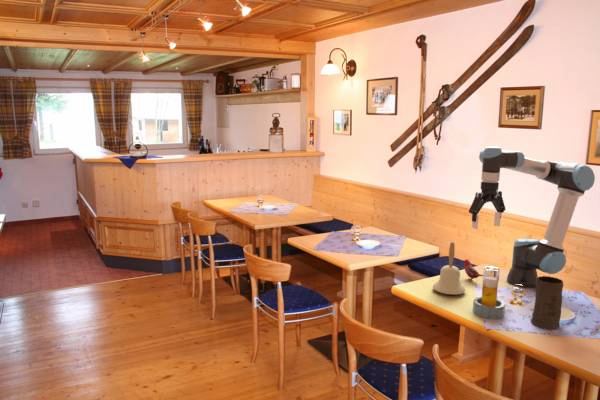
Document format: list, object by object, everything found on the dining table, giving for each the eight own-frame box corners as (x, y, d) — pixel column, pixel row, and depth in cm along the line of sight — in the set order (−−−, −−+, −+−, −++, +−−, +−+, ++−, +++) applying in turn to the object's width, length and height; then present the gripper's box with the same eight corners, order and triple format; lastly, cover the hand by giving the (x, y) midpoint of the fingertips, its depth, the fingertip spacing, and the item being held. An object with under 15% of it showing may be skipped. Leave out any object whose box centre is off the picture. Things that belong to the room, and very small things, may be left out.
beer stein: (566, 329, 201) (570, 282, 199) (542, 331, 199) (546, 282, 197) (542, 316, 216) (545, 272, 214) (520, 317, 215) (522, 272, 212)
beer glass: (498, 302, 229) (501, 271, 226) (482, 301, 230) (485, 270, 227) (495, 297, 236) (498, 266, 233) (480, 295, 237) (482, 265, 234)
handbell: (432, 284, 251) (436, 236, 246) (464, 288, 247) (468, 239, 242) (432, 295, 236) (435, 244, 232) (465, 299, 232) (470, 247, 228)
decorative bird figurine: (464, 275, 265) (466, 257, 263) (485, 287, 248) (487, 268, 247) (460, 276, 264) (461, 258, 263) (480, 287, 248) (482, 268, 246)
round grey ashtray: (487, 305, 225) (488, 295, 224) (509, 316, 214) (510, 305, 213) (467, 309, 220) (468, 299, 219) (488, 320, 209) (489, 309, 208)
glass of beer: (478, 308, 219) (480, 275, 217) (491, 307, 220) (494, 275, 217) (484, 313, 213) (486, 280, 211) (498, 313, 214) (500, 280, 211)
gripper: (503, 178, 231) (499, 223, 235) (462, 181, 221) (459, 227, 225) (516, 181, 225) (512, 226, 229) (475, 183, 214) (471, 231, 218)
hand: (485, 227), depth 227 cm, fingers open, 13 cm apart
